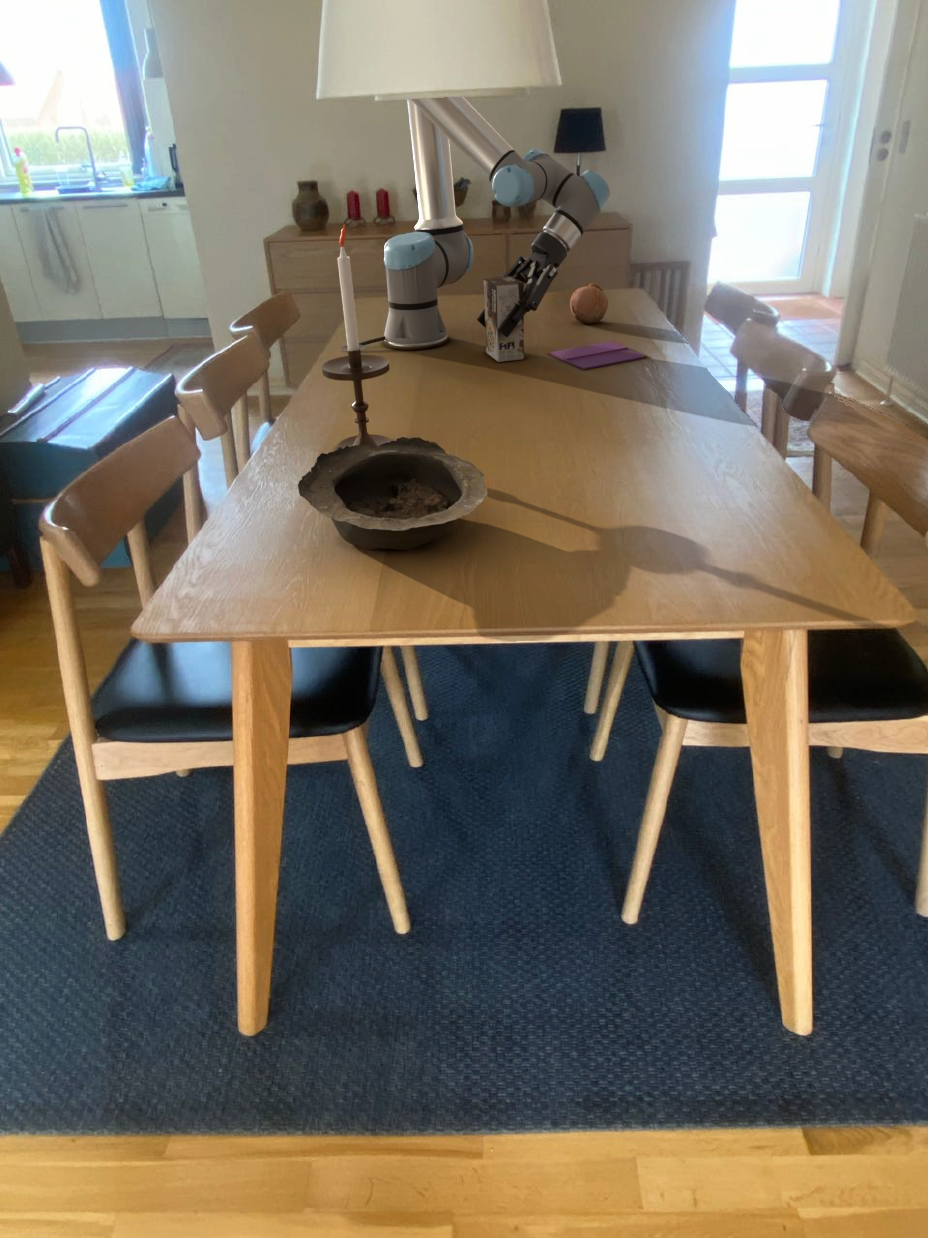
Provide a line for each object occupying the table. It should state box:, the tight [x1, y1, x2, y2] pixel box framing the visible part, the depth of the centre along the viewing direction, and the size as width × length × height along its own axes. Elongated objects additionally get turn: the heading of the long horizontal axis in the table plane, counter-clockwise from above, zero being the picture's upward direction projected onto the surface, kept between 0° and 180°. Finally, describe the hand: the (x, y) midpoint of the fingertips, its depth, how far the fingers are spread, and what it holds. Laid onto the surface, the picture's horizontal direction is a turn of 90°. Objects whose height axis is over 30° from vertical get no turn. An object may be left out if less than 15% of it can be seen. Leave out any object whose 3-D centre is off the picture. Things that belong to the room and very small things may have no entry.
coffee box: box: [483, 275, 525, 363], centre depth 181 cm, size 9×6×16 cm
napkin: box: [550, 340, 648, 370], centre depth 182 cm, size 16×14×1 cm
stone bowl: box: [297, 436, 488, 551], centre depth 112 cm, size 25×25×9 cm
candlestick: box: [321, 223, 392, 449], centre depth 131 cm, size 11×11×35 cm
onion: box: [569, 282, 609, 325], centre depth 205 cm, size 10×9×10 cm
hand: (491, 328), depth 180 cm, fingers closed on coffee box, 9 cm apart
